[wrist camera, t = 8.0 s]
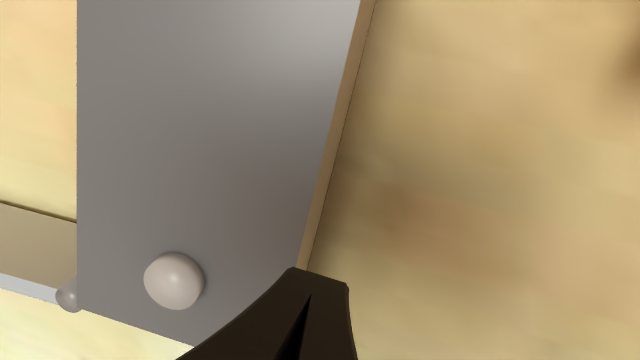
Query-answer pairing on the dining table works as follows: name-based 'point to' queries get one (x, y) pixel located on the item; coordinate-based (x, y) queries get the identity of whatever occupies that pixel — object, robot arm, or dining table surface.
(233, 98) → the camera body
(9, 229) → the grey long bar
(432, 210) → the dining table surface
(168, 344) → the dining table surface
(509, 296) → the dining table surface
